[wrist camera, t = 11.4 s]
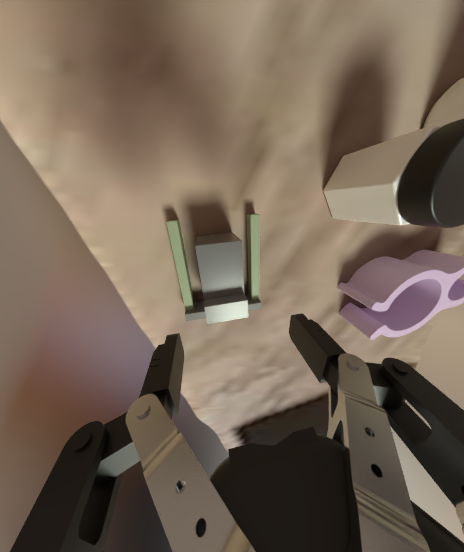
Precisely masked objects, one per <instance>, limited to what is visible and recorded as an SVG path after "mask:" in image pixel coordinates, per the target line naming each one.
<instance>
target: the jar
mask: <svg viewBox="0 0 464 552" xmlns="http://www.w3.org/2000/svg"><path fill="white" fill-rule="evenodd" d="M323 192H324V194H325V197H326V200H327V203H328V206H329V209H330V212H331V215H332V217H333V218H334V219H344V220H353V221H363V222H373V223H382V224H392V225H406V224H413V225H423V226H433V227H444V228H451V227H457V226H460V225H463V224H464V118H463V119H460V120H457V121H454V122H451V123H449V124H446V125H432V126H429V127H426V128H423V129H420V130H417V131H414V132H411V133H408V134H405V135H402V136H400V137H397V138H394V139H391V140H388V141H385V142H382V143H379V144H376V145H373V146H370V147H367V148H364V149H362V150H359V151H356V152H353V153H350V154H347V155H344V156H343V157H342V159H341V161H340V162H339V164H338V166H337V167H336V169H335V171H334V173H333V174H332V176H331V178H330V180H329V181H328V183H327V185H326V186H325V188H324V190H323Z"/></svg>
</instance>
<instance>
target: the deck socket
mask: <svg viewBox="0 0 464 552" xmlns="http://www.w3.org/2000/svg"><path fill="white" fill-rule="evenodd" d="M166 223H167V227H168V232H169V236H170V241H171V246H172V250H173V255H174V259H175V264H176V269H177V273H178V278H179V283H180V287H181V292H182V296H183V301H184V306H185V310H186V311H185V317H186V321H191V320H197V319H203V318H206V314H205V308H204V301H198V302H194V298H193V293H192V288H191V282H190V277H189V271H188V266H187V261H186V255H185V250H184V244H183V239H182V234H181V228H180V223H179V220H169V221H167V222H166ZM259 253H260V214H247V255H248V294H245V296H246V298H247V300H248V311H253V310H259V309H261V301H260V300H259Z"/></svg>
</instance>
